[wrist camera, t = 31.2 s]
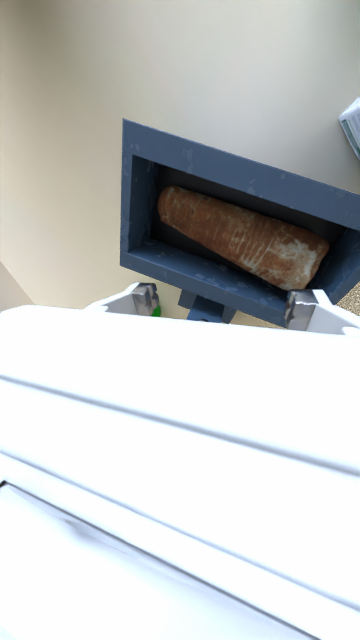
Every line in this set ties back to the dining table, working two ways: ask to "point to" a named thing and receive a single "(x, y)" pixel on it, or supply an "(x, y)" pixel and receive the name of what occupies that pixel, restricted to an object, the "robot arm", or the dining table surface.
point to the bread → (245, 237)
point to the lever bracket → (205, 309)
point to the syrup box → (352, 125)
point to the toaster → (238, 189)
